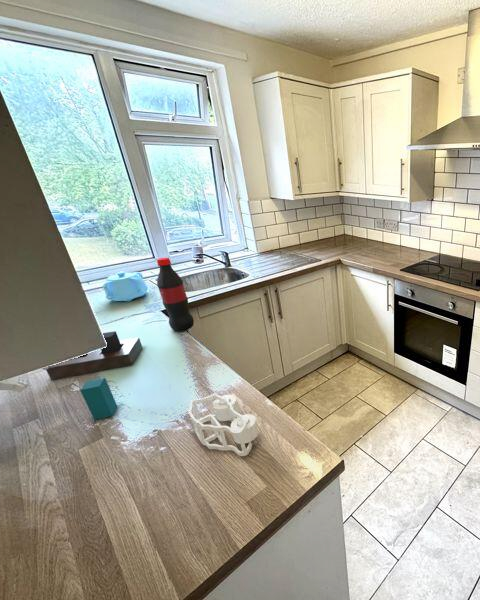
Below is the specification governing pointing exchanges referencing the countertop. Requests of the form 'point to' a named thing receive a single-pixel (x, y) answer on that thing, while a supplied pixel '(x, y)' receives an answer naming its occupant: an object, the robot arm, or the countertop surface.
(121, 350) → the walnut base
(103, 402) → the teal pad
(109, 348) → the black upright block
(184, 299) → the cola bottle
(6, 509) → the countertop surface
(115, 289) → the decorative pot
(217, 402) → the skeletal toy car
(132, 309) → the countertop surface
